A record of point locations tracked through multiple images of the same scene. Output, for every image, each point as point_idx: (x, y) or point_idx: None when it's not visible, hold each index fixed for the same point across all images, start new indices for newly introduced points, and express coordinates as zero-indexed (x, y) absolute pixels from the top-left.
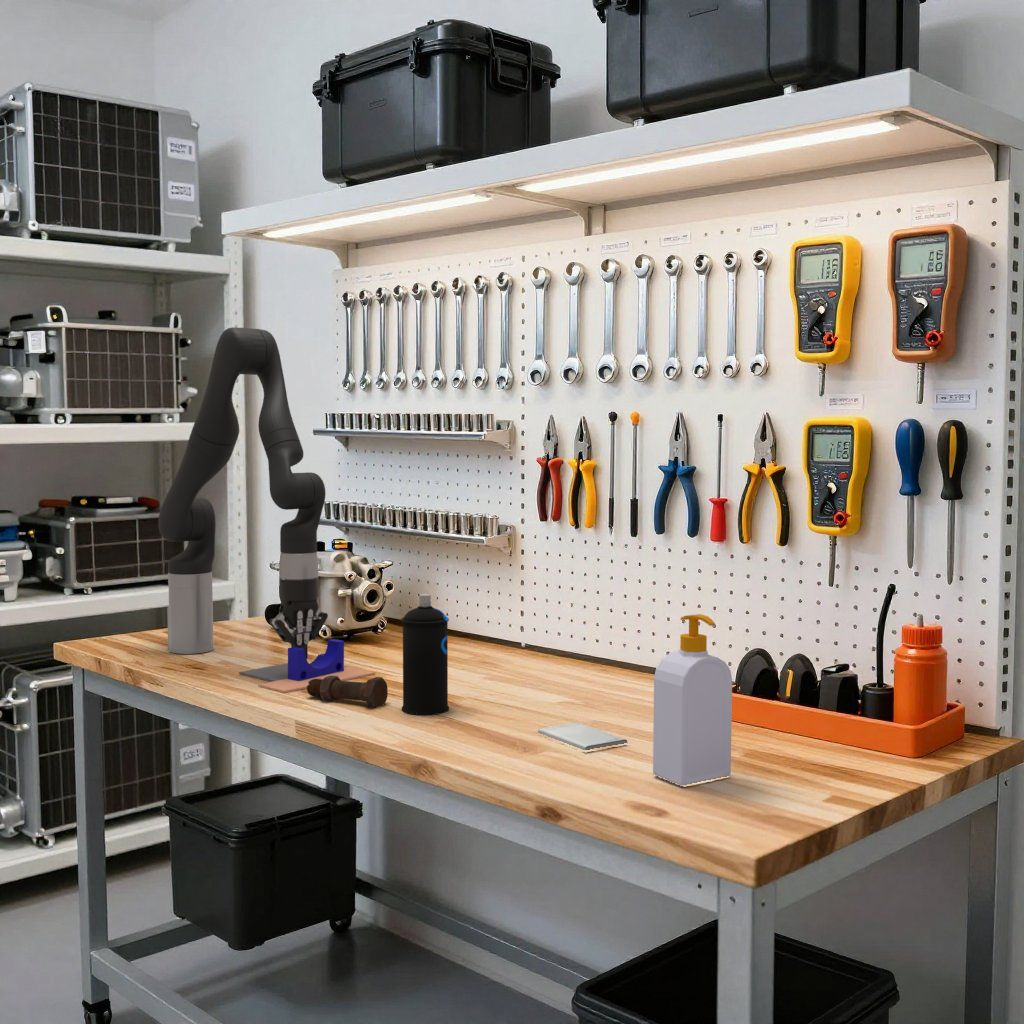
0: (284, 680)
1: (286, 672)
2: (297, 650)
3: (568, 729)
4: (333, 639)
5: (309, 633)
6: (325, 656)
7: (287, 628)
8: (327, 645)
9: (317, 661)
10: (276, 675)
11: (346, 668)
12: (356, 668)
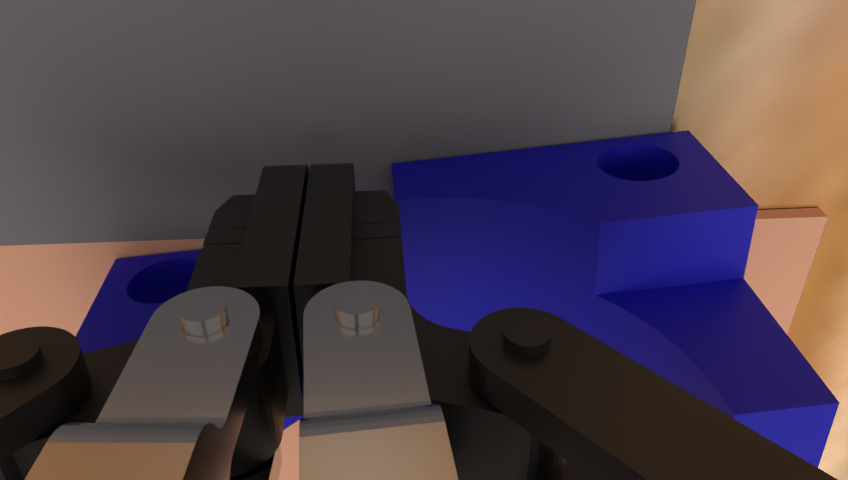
0: (66, 278)
1: (255, 5)
2: None
3: None
4: (808, 425)
5: (499, 473)
6: (591, 319)
7: (37, 477)
8: (695, 365)
9: (515, 252)
10: (93, 52)
11: (751, 256)
12: (794, 303)
